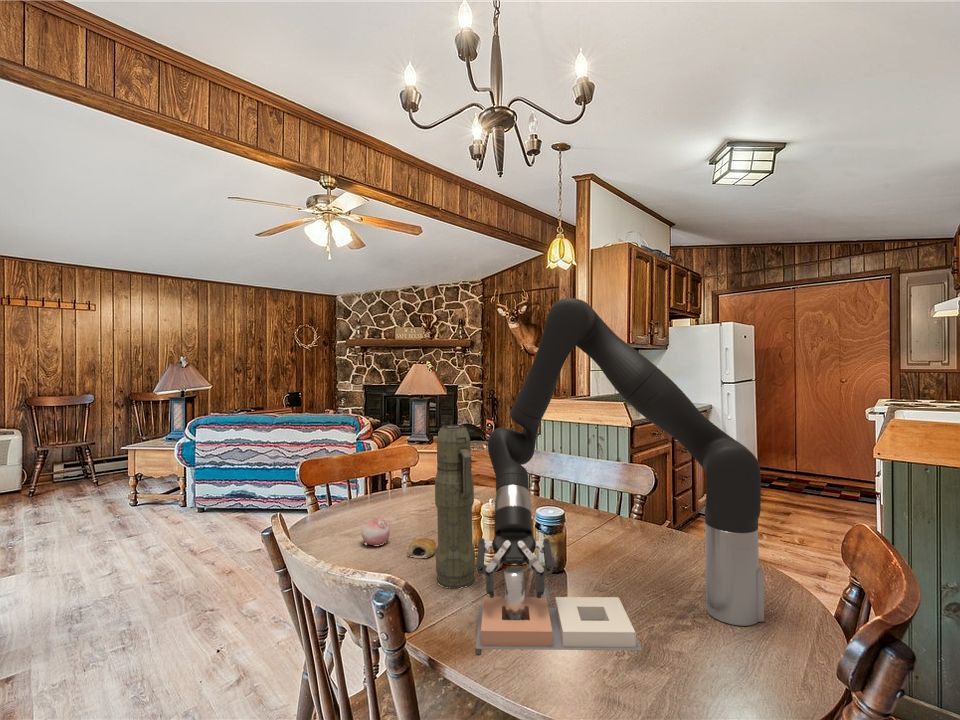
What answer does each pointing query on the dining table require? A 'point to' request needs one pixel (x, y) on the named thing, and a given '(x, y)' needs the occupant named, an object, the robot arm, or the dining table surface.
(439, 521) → the thermos
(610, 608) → the dock board
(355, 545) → the dining table surface
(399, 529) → the dining table surface
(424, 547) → the pastry
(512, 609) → the steel pin
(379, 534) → the onion
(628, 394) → the robot arm
